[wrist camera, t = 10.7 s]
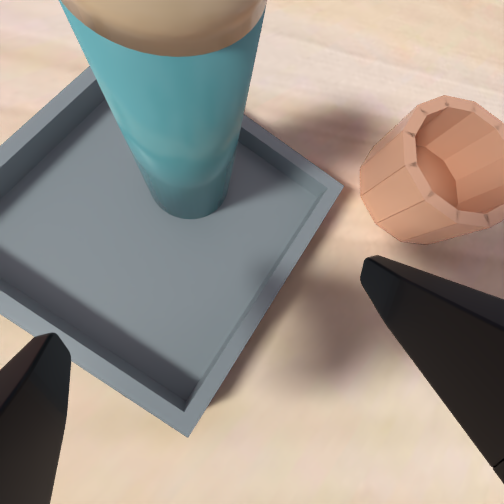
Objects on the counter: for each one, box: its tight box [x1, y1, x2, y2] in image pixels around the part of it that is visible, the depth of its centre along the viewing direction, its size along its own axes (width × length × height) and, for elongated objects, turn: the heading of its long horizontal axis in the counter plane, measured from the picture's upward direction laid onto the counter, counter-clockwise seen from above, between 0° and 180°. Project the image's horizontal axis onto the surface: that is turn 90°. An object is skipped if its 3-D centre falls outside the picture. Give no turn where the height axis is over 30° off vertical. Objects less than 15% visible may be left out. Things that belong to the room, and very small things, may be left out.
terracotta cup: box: [360, 95, 504, 245], centre depth 19 cm, size 8×8×4 cm
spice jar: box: [59, 0, 267, 219], centre depth 11 cm, size 5×5×12 cm
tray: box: [0, 66, 344, 438], centre depth 16 cm, size 16×16×2 cm
